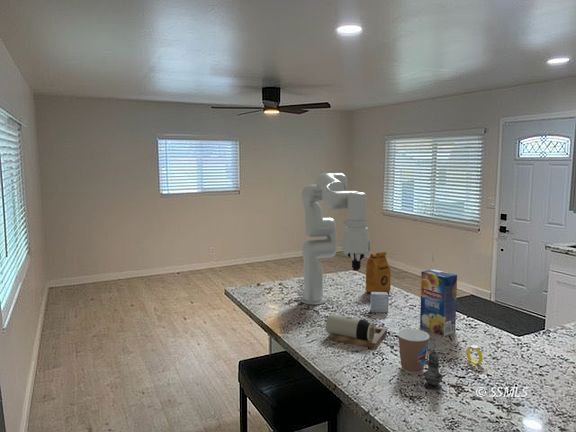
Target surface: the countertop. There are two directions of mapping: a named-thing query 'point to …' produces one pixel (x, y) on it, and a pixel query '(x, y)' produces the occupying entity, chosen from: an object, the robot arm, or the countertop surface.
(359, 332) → the travel mug
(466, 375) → the countertop surface
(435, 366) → the grey stone figurine
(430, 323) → the juice carton
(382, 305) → the medicine box
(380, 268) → the coffee package
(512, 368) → the countertop surface
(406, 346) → the coffee cup
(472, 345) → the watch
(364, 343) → the walnut tray
